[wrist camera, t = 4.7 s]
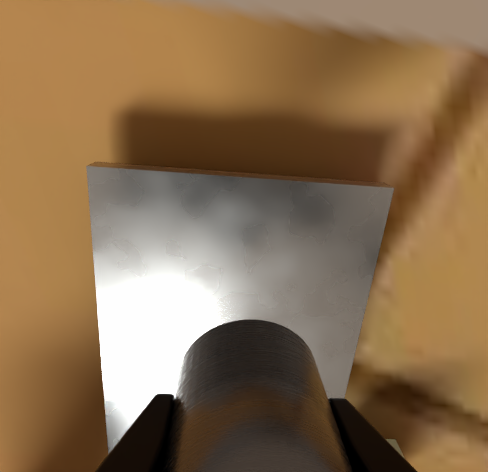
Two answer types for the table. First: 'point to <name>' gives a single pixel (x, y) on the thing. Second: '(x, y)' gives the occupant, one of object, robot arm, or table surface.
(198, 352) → the black peg
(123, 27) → the table surface
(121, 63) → the table surface
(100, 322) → the grey flat plate
